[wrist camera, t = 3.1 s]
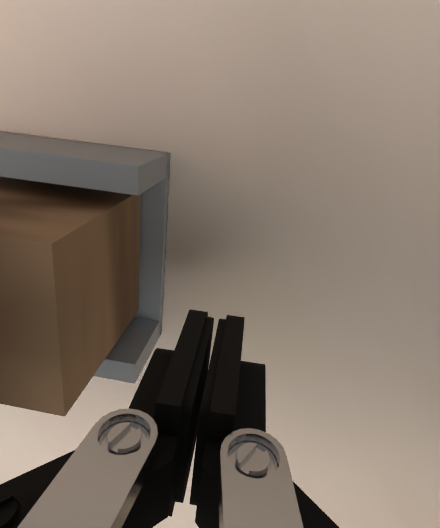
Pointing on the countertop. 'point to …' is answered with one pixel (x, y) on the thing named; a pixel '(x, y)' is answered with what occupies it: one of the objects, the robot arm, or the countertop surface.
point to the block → (62, 287)
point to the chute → (120, 181)
